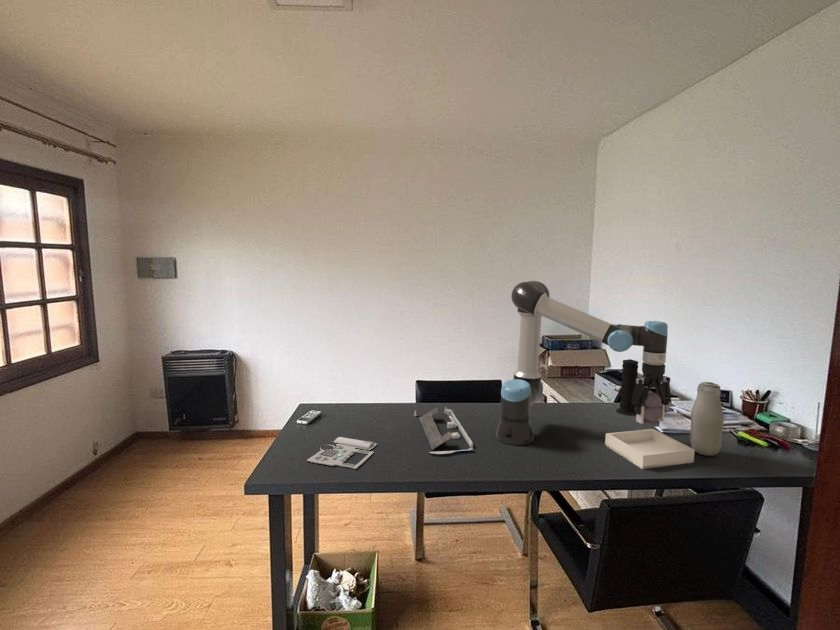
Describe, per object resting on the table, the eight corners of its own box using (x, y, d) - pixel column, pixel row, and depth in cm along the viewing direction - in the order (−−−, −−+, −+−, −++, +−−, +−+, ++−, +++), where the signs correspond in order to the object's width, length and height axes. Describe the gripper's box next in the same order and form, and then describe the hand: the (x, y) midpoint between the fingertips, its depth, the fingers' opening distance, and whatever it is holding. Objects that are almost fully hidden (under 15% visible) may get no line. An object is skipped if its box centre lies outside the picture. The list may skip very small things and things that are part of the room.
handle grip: (614, 407, 211) (617, 414, 201) (617, 356, 208) (621, 360, 198) (636, 409, 208) (640, 416, 199) (639, 357, 205) (644, 362, 195)
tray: (642, 469, 147) (643, 455, 147) (605, 445, 167) (605, 433, 166) (693, 462, 152) (694, 449, 152) (651, 440, 172) (652, 428, 171)
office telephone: (339, 433, 173) (383, 440, 166) (339, 439, 173) (383, 446, 166) (305, 456, 151) (354, 466, 144) (306, 463, 152) (354, 473, 145)
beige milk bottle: (711, 449, 163) (718, 379, 160) (725, 461, 153) (732, 387, 150) (683, 447, 165) (689, 378, 162) (695, 458, 155) (701, 385, 152)
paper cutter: (450, 414, 202) (451, 403, 202) (476, 455, 159) (477, 441, 158) (413, 415, 200) (414, 404, 199) (430, 458, 156) (430, 444, 155)
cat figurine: (646, 418, 163) (648, 388, 162) (666, 424, 157) (668, 393, 155) (633, 422, 159) (635, 391, 158) (653, 429, 152) (655, 397, 151)
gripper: (636, 366, 149) (633, 427, 152) (685, 363, 154) (681, 422, 157) (622, 362, 156) (618, 420, 159) (669, 359, 161) (665, 415, 164)
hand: (649, 421), depth 158 cm, fingers closed on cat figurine, 8 cm apart
